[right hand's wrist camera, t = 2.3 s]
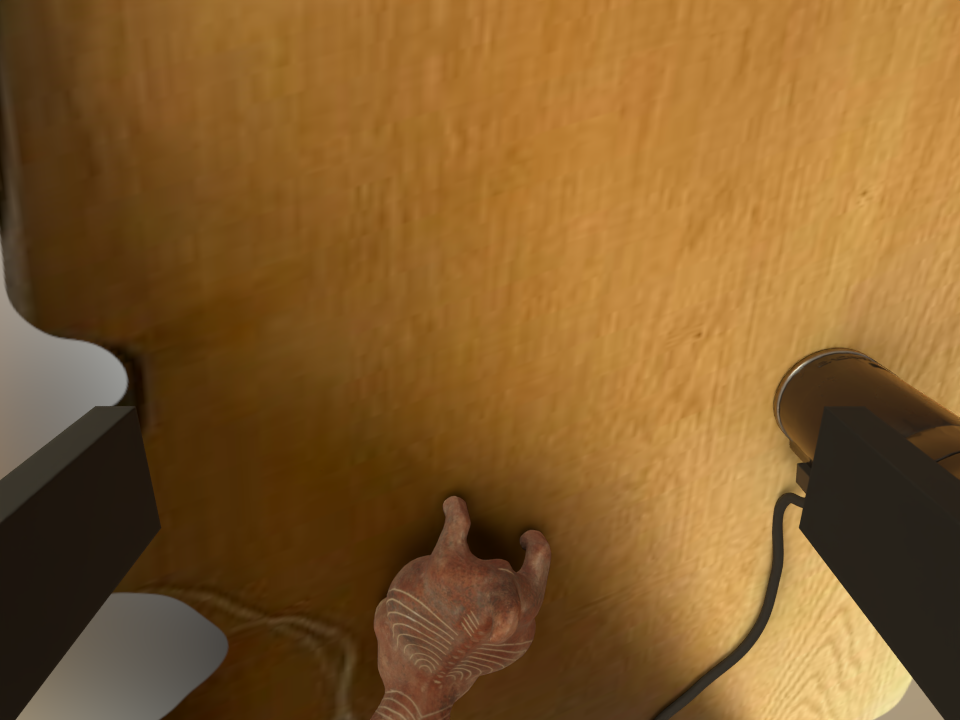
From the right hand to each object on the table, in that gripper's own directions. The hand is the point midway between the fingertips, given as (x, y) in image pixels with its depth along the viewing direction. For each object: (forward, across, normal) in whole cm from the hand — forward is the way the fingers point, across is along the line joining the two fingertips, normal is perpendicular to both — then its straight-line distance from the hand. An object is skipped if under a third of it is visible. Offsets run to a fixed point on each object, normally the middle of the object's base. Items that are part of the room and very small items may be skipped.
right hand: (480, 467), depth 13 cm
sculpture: (+41, -3, -39) cm, 56 cm away
